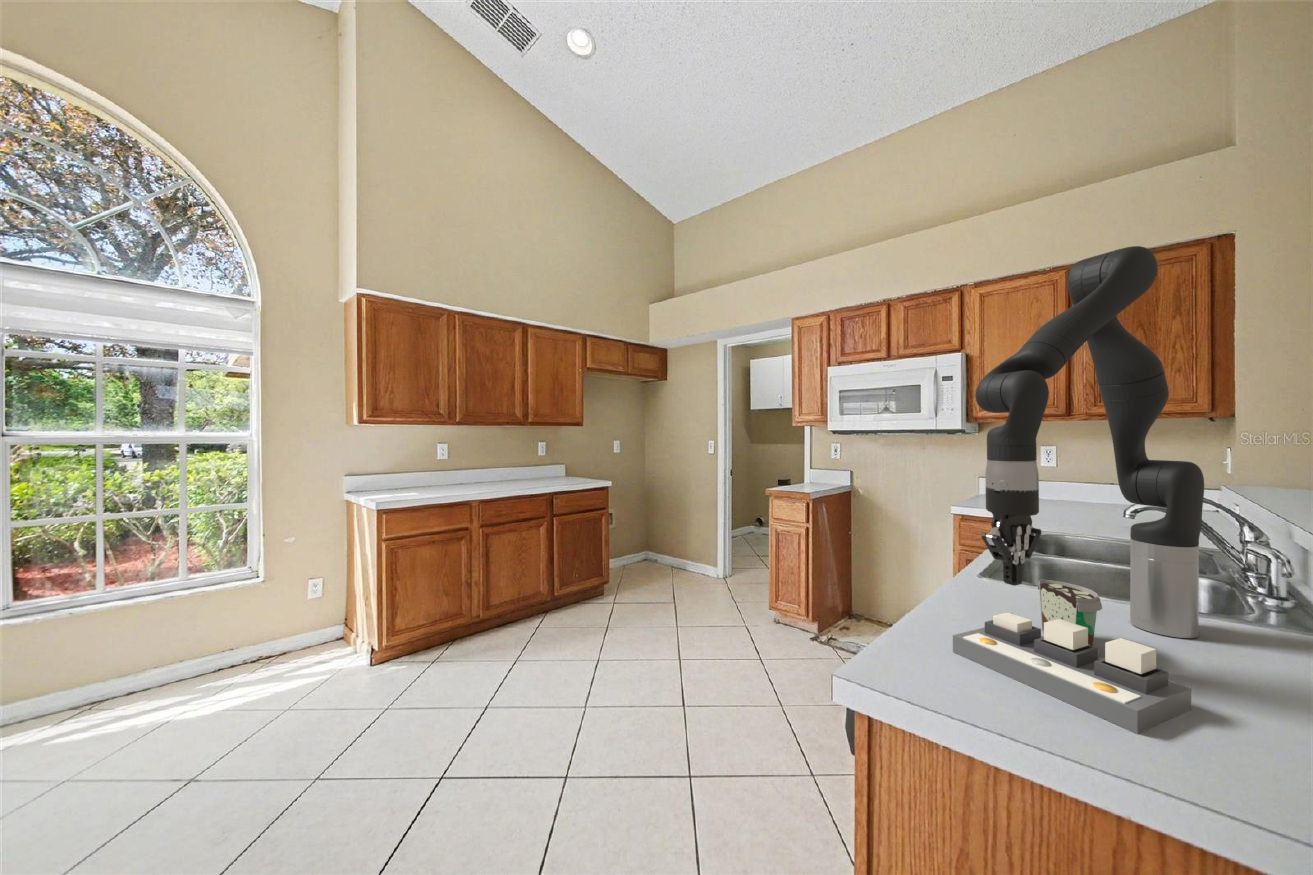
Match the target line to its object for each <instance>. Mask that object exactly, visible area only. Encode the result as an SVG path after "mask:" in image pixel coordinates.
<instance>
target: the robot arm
mask: <svg viewBox="0 0 1313 875" xmlns="http://www.w3.org/2000/svg"><path fill="white" fill-rule="evenodd" d="M1158 268H1159V267H1158V261H1157V258H1156V256H1155V254H1154V253H1153V252H1152V251H1151V250H1150V249H1149V248H1147V247H1144V246H1142V245H1133V246H1126V247H1122V248H1118V249H1115V250H1112V251H1109V252H1108V251H1107V252H1105V253H1100V254H1098V255H1094V256H1090V257H1087V258H1083V259H1081V260H1078V261H1077V262H1076V263H1074V264H1073V265H1072V266H1071V268H1070V269H1069V271H1068V275H1067V289H1068V295H1069V298H1070V300H1071V303H1072V306H1070V307H1069V308H1067V309H1066V310H1064V311H1062V312H1061V313H1059V314H1058V315H1056V316H1055V317H1053V318H1051V319H1050V320H1048V321H1047V322H1046V323H1044V324H1043V325H1042V326H1041V327H1039V328H1038V329H1037V330H1036V331H1034V333H1033V334H1032V335H1031V337H1029V338H1028V340H1027V341H1026V342H1025V343H1024V344H1023V345H1022V346H1021V348H1020V349H1019V350H1018V351H1017V352H1015V353H1014V354H1013V355H1012V356H1010V357H1009V358H1007V359H1004V361H1003V362H1001V363H1000V364H998V365H997V366H995V367H994V368H993V369H992V370H990V371H989V372H987V374H985V375H984V376H983V377H982V379H981V380H980V381H979V383H978V384H977V387H976V390H975V393H974V395H975V397H974V398H975V401H976V404H977V406H978V407H979V408H980V409H981V410H983V411H985V412H987V413H992V414H1006V413H1008V414H1007V417H1006V421H1005V423H1003V425H1000V426H996V427H994V428H991V429H989V431H987V434H986V467H985V480H984V481H985V510H986V511H987V512H989V513H991V514H992V520H991V523H990V525H991V530H990V531H989V533H986V532H984V533H982V535H981V538H982V541H983V543H984V544H985V546H986V547H987V548H986V549H988V551H989V553H990V554H991V556H992V558H993V559H994V560H996V561H1000V562H1002V575H1003V576H1002V577H1003V578H1002V580H1003V582H1004V583H1005V584H1007V585H1011V586H1014V587H1015V586H1019V585H1022V584H1023V564H1025V561H1026V559H1028V560H1029V559H1031V558H1032V556H1033V553H1034V551H1035V549H1036V546H1037V544H1038V542H1039V539H1040V537H1041V536H1042V529H1041V528H1035V527H1034V526H1033V519H1032V516H1036V515H1038V514H1039V513H1040V485H1039V482H1040V481H1039V479H1040V478H1039V477H1040V474H1039V468H1038V462H1037V460H1038V459H1037V457H1038V456H1037V438H1038V433H1039V430H1040V428H1041V425H1042V421H1043V417H1044V414H1045V413H1046V412H1045V411H1046V409H1047V408H1046V407H1047V406H1048V402H1049V396H1050V390H1049V385H1048V382H1047V381H1046V380H1049V379H1050V378H1052V377H1054V376H1055V375H1057V374H1058V373H1059V372H1060V371H1061V370H1062V369H1063V368H1064V366H1066V364H1067V363H1068V361H1069V360H1071V358H1072V357H1073V356H1074V355H1075V353H1076V352H1078V351H1079V349H1080V348H1081V347H1082V346H1083V345H1084V344H1085V343H1087V346H1088V349H1089V352H1090V355H1091V356H1090V357H1091V359H1092V360H1091V361H1092V364H1093V367H1094V372H1095V377H1096V382H1097V385H1098V389H1099V393H1100V398H1101V400H1102V404H1103V407H1104V410H1105V414H1106V418H1107V421H1108V426H1109V431H1110V434H1111V440H1112V445H1113V453H1114V454H1113V455H1114V462H1115V470H1116V476H1117V482H1118V486H1119V489H1120V492H1121V495H1122V496H1123V497H1124V499H1125V500H1126V501H1128V502H1129V503H1130V504H1136V505H1141V506H1149V507H1157V508H1158V507H1159V508H1166V511H1165V514H1164V516H1163V517H1162V518H1160V519H1156V520H1152V521H1146V522H1144V521H1143V522H1137V523H1134V524H1132V525H1131V526H1130V538H1129V539H1130V547H1129V548H1130V550H1129V551H1130V554H1129V556H1130V558H1129V559H1130V569H1129V571H1130V574H1129V575H1130V580H1129V581H1130V586H1129V587H1130V588H1129V591H1130V592H1129V594H1130V600H1129V601H1130V603H1129V604H1130V605H1129V609H1130V610H1129V614H1130V615H1129V616H1130V617H1129V622H1130V624H1131V625H1133V626H1134V627H1137V628H1138V629H1141V630H1144V631H1147V632H1150V633H1153V634H1156V635H1161V636H1166V637H1170V638H1171V637H1173V638H1180V639H1195V638H1198V636H1199V620H1200V619H1199V616H1200V614H1199V612H1200V610H1199V605H1200V604H1199V598H1200V596H1199V594H1200V592H1199V590H1200V588H1199V587H1200V585H1199V584H1200V583H1199V580H1200V579H1199V578H1200V575H1199V574H1200V567H1199V566H1200V561H1199V557H1200V556H1199V554H1200V552H1199V551H1200V550H1199V549H1200V535H1201V531H1202V525H1203V524H1202V523H1203V505H1204V495H1205V478H1204V473H1203V471H1202V469H1201V467H1200V466H1199V465H1197V464H1196V463H1194V462H1192V461H1187V460H1186V461H1184V460H1182V461H1181V460H1166V459H1165V460H1164V459H1162V460H1161V459H1149V457H1148V456H1147V453H1146V452H1147V451H1146V438H1147V436H1148V433H1149V431H1150V430H1151V427H1153V425H1154V423H1155V422H1156V421H1157V419H1158V417H1160V415H1161V413H1162V411H1163V410H1164V408H1165V406H1166V405H1167V402H1168V399H1169V397H1170V390H1169V385H1168V380H1167V377H1166V372H1165V369H1164V365H1163V362H1162V360H1161V359H1160V357H1158V355H1156V353H1155V352H1153V350H1151V349H1150V348H1149V347H1148V346H1147V345H1146V344H1144V343H1143V342H1142V341H1140V340H1139V339H1137V337H1135V336H1134V335H1133V334H1131V333H1130V332H1129V331H1128V330H1127V329H1126V328H1125V327H1124V326H1123V324H1122V323H1121V322H1120V320H1119V318H1118V315H1119V314H1120V313H1121V312H1122V311H1124V310H1125V309H1126V308H1128V307H1129V306H1130V305H1131V304H1133V303H1134V302H1136V301H1137V300H1138V299H1140V298H1141V297H1142V296H1143V295H1144V294H1145V293H1146V292H1148V291H1149V290H1150V288H1151V287H1152V286H1153V284H1154V283H1155V281H1156V278H1157V276H1158V270H1159V269H1158Z"/></svg>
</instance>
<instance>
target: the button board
mask: <svg viewBox="0 0 1313 875" xmlns="http://www.w3.org/2000/svg"><path fill="white" fill-rule="evenodd" d="M952 652H953V653H954V654H956V655H959V656H961V657H963V658H966V659H967V660H970V661H972V662H974V663H976V664H979V665H981V666H983V667H986V668H988V669H990V670H993V671H994V672H997V673H999V674H1001V675H1004V676H1006V677H1008V678H1011V679H1013V680H1015V681H1016V682H1019V683H1021V684H1024V685H1026V686H1028V687H1031V688H1032V689H1035V690H1037V691H1040V692H1042V693H1043V694H1044V693H1045V694H1047V695H1049V696H1051V697H1053V698H1056V699H1058V700H1061V701H1062V702H1065V703H1067V704H1070V705H1071V706H1074V707H1075V708H1078V709H1080V710H1082V711H1085V712H1087V713H1089V714H1091V715H1094V716H1096V717H1097V718H1100V719H1102V720H1105V721H1107V722H1110V723H1112V724H1114V725H1117V726H1118V727H1121V728H1123V729H1125V730H1128V731H1129V732H1132V733H1134V734H1136V735H1138V734H1141V733H1143V732H1145V731H1147V730H1150V729H1151V728H1154V727H1156V726H1158V725H1160V724H1162V723H1164V722H1167V721H1169V720H1171V719H1173V718H1176V717H1178V716H1180V715H1183V714H1184V713H1186V712H1189V711H1191V710H1192V688H1191V687H1189V686H1187V685H1184V684H1181V683H1177V682H1174V681H1173V680H1169V671H1167V670H1164V669H1162V668H1159V667H1156V669H1154V670H1151V671H1148V672H1146V673H1143V674H1139V673H1136V672H1133V671H1131V670H1128V669H1125V668H1122V667H1119V666H1116V665H1114V664H1111V663H1108V662H1105V657H1102V656H1099V648H1098V647H1095V646H1090V645H1088V646H1085V647H1082V648H1078V649H1075V650H1071V649H1068V648H1066V647H1063V646H1060V645H1057V644H1054V643H1052V642H1049V641H1046V640H1044V635H1042V628H1040V627H1036V626H1034V625H1032V629H1031V630H1027V631H1024V632H1020V633H1017V632H1015V631H1012V630H1009V629H1006V628H1003V627H1001V626H998V625H995V624H993V619H992V620H987V621H985V622H984V627H981V628H977V629H973V630H969V631H965V632H961V633H956V634H953V635H952Z"/></svg>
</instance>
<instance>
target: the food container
mask: <svg viewBox="0 0 1313 875" xmlns="http://www.w3.org/2000/svg"><path fill="white" fill-rule="evenodd" d="M1037 583H1038V584H1037V589H1038V590H1039V602H1040V603H1039V606H1040V618H1041V619H1040V621H1041V633H1043V632H1044V623H1045V622H1049V621H1052V620H1056V619H1061V620H1064V621H1067V622H1070V623H1074V624H1077V625H1080V626H1083V627H1086V628H1088V645H1090V646H1093V645H1094V639H1095V638H1094V637H1095V631H1096V630H1095V629H1096V623H1097V622H1096V620H1097V614H1098V612H1099V611H1101V610H1103V605H1102V601H1101V598H1100V596H1099V594H1098V593H1097V592H1095V591H1094V590H1092V589H1091V588H1087V587H1085V586H1081V585H1078V584H1073V583H1069V582H1066V581H1065V582H1064V581H1058V580H1052V579H1051V580H1050V579H1038V582H1037ZM1093 647H1094V646H1093Z"/></svg>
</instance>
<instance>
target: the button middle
mask: <svg viewBox="0 0 1313 875" xmlns="http://www.w3.org/2000/svg"><path fill="white" fill-rule="evenodd" d="M1043 637H1044V640H1046V641H1049V642H1052V643H1054V644H1057V645H1060V646H1063V647H1066V648H1068V649H1071V650H1075V649H1078V648H1082V647H1085V646H1088V628H1086V627H1083V626H1080V625H1077V624H1074V623H1070V622H1067V621H1064V620H1061V619H1056V620H1052V621H1049V622H1045V623H1044V633H1043Z"/></svg>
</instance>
